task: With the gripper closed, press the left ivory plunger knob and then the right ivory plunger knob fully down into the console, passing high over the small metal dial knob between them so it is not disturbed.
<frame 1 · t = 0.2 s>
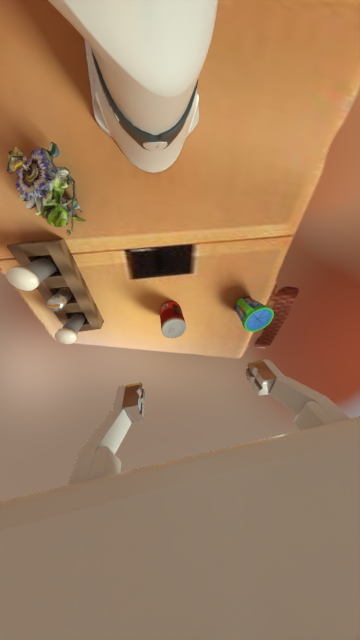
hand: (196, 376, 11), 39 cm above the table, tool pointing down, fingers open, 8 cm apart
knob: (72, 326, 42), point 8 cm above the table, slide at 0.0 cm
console: (69, 289, 43), on the table
passion flower: (64, 195, 31), on the table
snack cup: (243, 305, 58), on the table
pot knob: (59, 300, 38), point 6 cm above the table, slide at 0.0 cm
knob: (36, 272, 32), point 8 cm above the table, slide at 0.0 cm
canned food: (170, 309, 53), on the table
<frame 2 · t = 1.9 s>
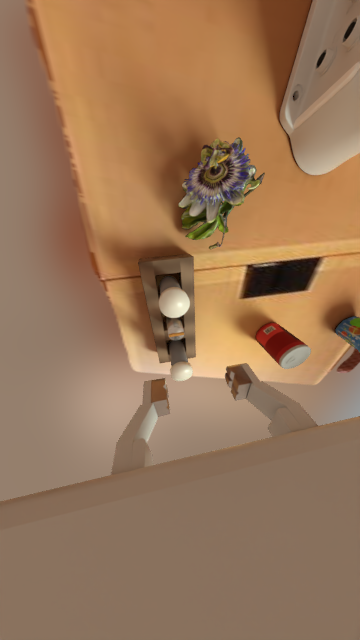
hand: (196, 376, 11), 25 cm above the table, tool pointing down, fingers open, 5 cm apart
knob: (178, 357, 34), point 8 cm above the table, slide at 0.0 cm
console: (171, 312, 36), on the table
passion flower: (208, 203, 26), on the table
snack cup: (344, 324, 50), on the table
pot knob: (174, 326, 31), point 6 cm above the table, slide at 0.0 cm
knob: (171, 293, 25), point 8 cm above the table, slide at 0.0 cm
canned food: (266, 332, 46), on the table
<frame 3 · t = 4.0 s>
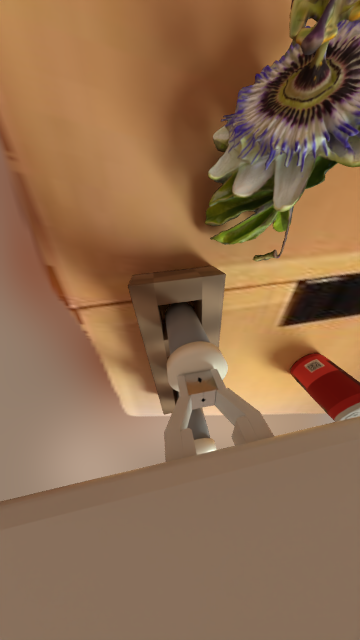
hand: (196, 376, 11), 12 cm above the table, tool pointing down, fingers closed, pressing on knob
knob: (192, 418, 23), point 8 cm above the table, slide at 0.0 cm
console: (181, 347, 25), on the table
passion flower: (252, 179, 15), on the table
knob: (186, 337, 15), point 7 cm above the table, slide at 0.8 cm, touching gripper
canned food: (304, 363, 34), on the table
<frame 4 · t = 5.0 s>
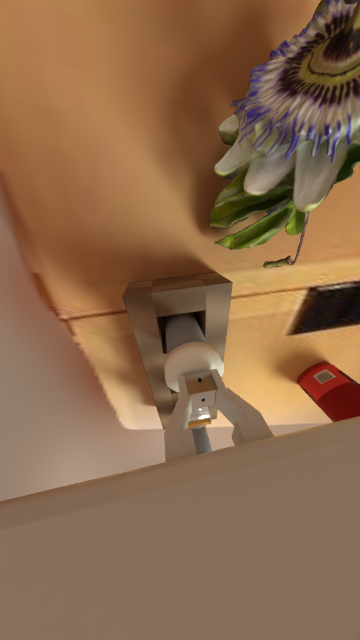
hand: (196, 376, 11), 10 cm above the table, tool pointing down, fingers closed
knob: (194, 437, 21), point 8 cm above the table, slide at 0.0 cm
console: (182, 358, 23), on the table
passion flower: (261, 178, 13), on the table
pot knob: (190, 396, 18), point 6 cm above the table, slide at 0.0 cm
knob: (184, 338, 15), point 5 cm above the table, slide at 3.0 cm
canned food: (312, 373, 32), on the table
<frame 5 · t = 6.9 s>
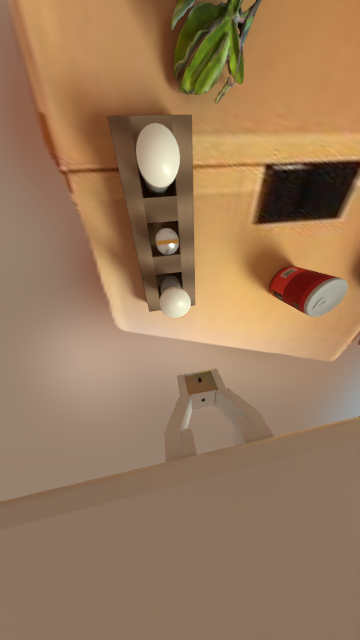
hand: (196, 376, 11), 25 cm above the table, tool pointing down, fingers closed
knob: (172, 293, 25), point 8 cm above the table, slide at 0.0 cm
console: (163, 238, 27), on the table
passion flower: (213, 32, 17), on the table
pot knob: (165, 240, 22), point 6 cm above the table, slide at 0.0 cm
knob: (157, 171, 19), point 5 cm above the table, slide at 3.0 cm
canned food: (282, 281, 37), on the table
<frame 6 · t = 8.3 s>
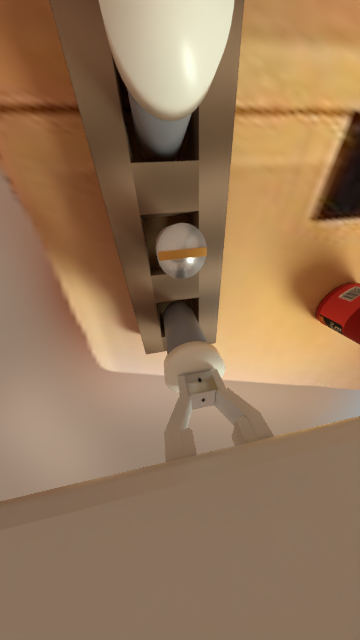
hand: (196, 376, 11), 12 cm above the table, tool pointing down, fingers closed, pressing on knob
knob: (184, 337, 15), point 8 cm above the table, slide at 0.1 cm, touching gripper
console: (168, 242, 17), on the table
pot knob: (176, 248, 11), point 6 cm above the table, slide at 0.0 cm
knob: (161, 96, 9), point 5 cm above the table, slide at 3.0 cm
canned food: (334, 302, 26), on the table
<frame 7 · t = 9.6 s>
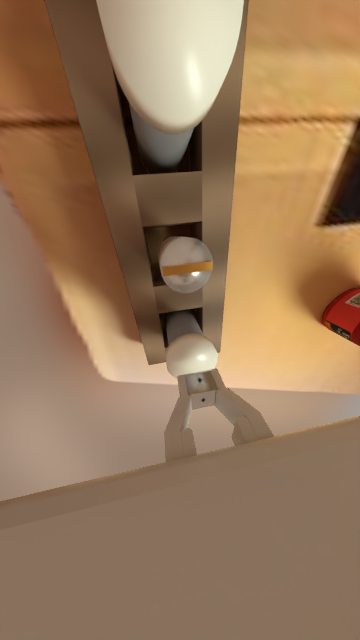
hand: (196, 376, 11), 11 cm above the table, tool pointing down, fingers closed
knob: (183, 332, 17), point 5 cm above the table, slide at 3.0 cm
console: (171, 252, 17), on the table
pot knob: (179, 260, 11), point 6 cm above the table, slide at 0.0 cm
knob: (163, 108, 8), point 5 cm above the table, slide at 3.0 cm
canned food: (341, 308, 26), on the table
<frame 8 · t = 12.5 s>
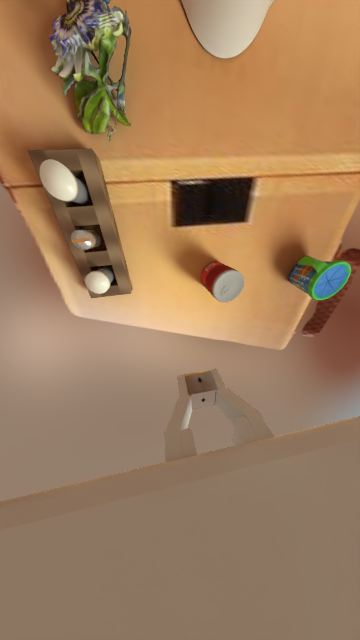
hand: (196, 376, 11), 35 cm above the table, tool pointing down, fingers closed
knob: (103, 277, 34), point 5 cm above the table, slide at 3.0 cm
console: (97, 238, 34), on the table
passion flower: (105, 91, 24), on the table
snack cup: (298, 272, 48), on the table
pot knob: (87, 239, 29), point 6 cm above the table, slide at 0.0 cm
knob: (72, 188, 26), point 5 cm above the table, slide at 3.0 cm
canned food: (212, 275, 43), on the table
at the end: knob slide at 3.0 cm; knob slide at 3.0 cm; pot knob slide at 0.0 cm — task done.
